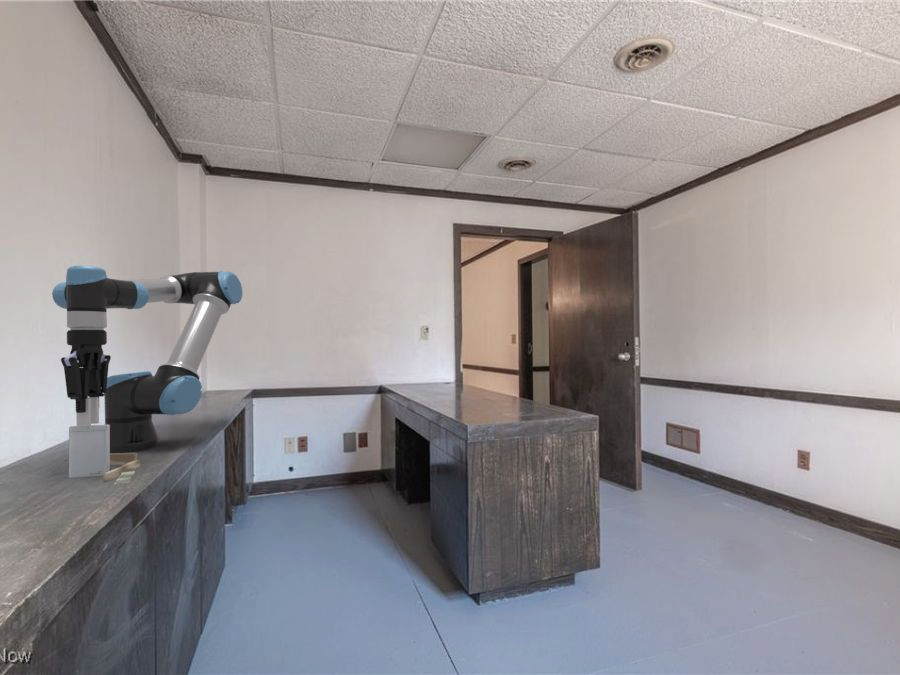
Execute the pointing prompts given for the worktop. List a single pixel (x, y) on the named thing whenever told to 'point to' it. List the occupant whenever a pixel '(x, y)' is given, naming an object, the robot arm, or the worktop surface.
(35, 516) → the worktop surface
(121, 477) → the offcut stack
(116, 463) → the birch rack
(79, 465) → the hard drive
